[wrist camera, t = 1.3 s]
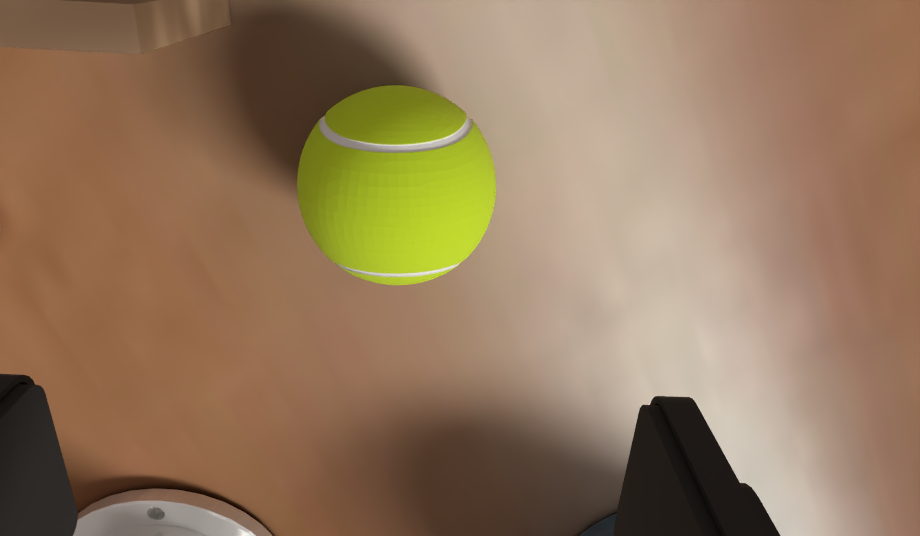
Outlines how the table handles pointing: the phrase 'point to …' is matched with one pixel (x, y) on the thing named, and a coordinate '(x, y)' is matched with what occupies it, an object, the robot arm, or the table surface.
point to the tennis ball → (396, 185)
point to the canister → (602, 527)
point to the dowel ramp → (108, 23)
